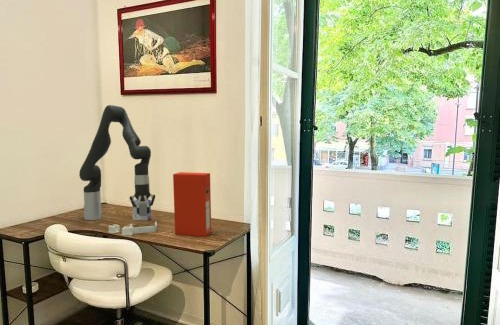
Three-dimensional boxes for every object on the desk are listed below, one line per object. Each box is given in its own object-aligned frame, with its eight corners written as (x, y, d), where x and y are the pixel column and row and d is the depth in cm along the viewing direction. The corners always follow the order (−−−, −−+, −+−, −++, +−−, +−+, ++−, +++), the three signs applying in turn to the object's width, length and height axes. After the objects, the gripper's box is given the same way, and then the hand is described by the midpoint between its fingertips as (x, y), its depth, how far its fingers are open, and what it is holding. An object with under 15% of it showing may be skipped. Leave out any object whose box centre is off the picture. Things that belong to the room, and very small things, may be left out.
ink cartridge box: (151, 218, 205) (151, 195, 204) (147, 221, 200) (146, 197, 198) (137, 218, 207) (136, 195, 206) (132, 220, 202) (131, 196, 200)
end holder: (129, 233, 175) (129, 228, 175) (130, 229, 183) (130, 223, 183) (157, 231, 179) (157, 226, 179) (156, 226, 188) (156, 221, 187)
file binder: (205, 237, 169) (204, 175, 166) (174, 234, 173) (173, 174, 170) (211, 232, 177) (210, 173, 173) (181, 230, 181) (180, 172, 178)
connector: (139, 216, 177) (138, 205, 177) (139, 211, 188) (139, 201, 187) (147, 215, 179) (146, 204, 178) (147, 211, 189) (146, 200, 189)
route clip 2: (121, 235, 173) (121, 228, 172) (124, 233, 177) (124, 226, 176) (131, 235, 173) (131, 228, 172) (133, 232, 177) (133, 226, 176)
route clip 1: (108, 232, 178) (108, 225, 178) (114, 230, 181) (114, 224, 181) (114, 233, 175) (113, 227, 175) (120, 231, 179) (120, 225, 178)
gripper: (155, 181, 185) (156, 211, 187) (128, 182, 181) (129, 213, 182) (155, 183, 178) (157, 214, 179) (127, 184, 174) (129, 216, 175)
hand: (143, 213), depth 181 cm, fingers closed on connector, 4 cm apart
